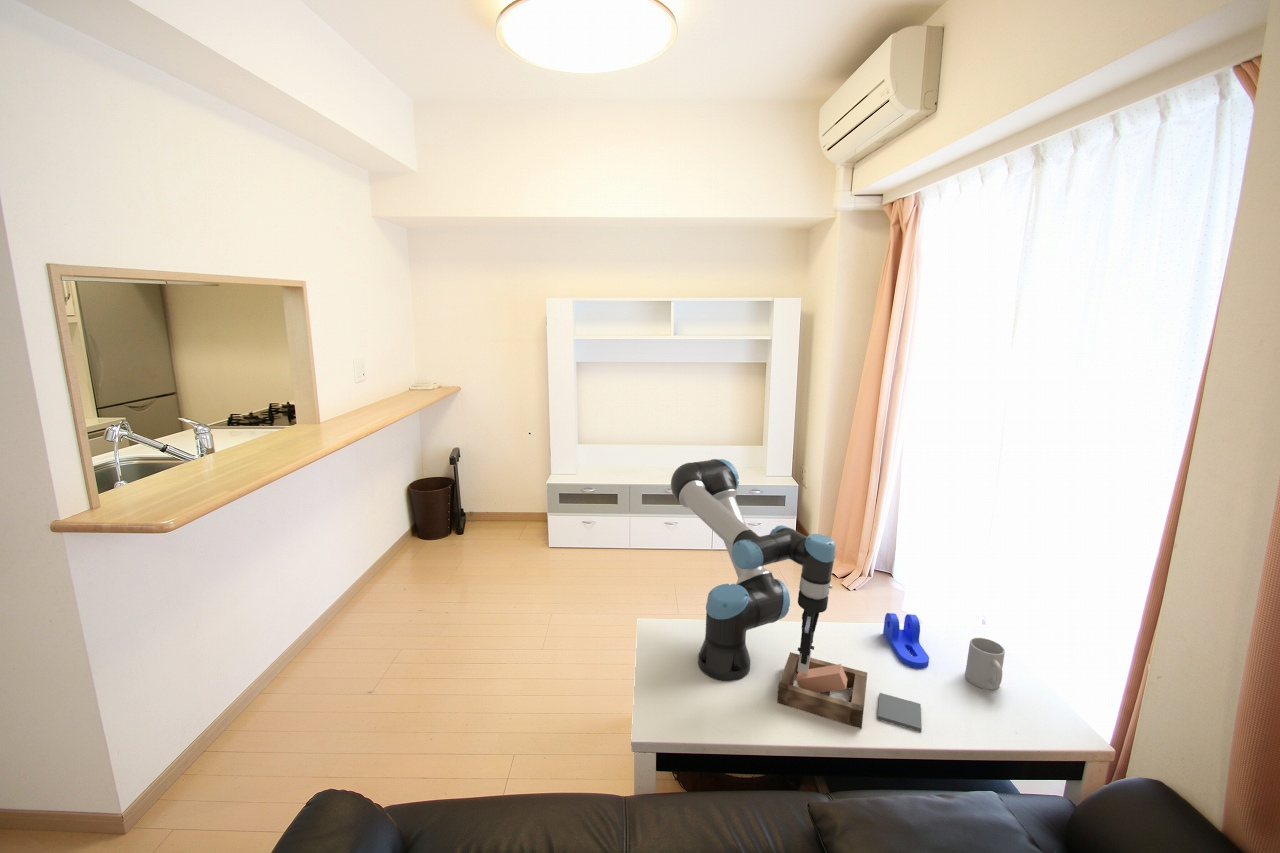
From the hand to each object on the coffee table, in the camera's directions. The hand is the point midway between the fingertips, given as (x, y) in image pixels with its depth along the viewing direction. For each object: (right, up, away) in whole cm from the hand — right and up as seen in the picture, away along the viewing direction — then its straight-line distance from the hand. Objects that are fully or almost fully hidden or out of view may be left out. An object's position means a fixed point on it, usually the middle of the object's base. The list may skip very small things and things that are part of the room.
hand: (802, 671), depth 150 cm
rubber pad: (+23, -8, -7) cm, 25 cm away
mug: (+53, -6, +5) cm, 54 cm away
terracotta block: (+5, -4, -2) cm, 7 cm away
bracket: (+38, -3, +20) cm, 44 cm away
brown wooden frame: (+5, -6, -1) cm, 8 cm away
